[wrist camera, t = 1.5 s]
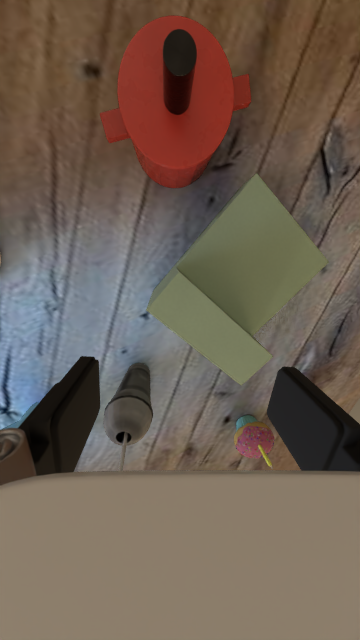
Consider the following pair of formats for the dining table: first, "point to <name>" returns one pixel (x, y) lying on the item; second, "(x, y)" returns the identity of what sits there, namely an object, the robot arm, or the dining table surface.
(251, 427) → the cupcake
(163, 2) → the dining table surface
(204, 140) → the lid
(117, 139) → the pot
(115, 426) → the beverage cup
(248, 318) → the green step stand
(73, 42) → the dining table surface
